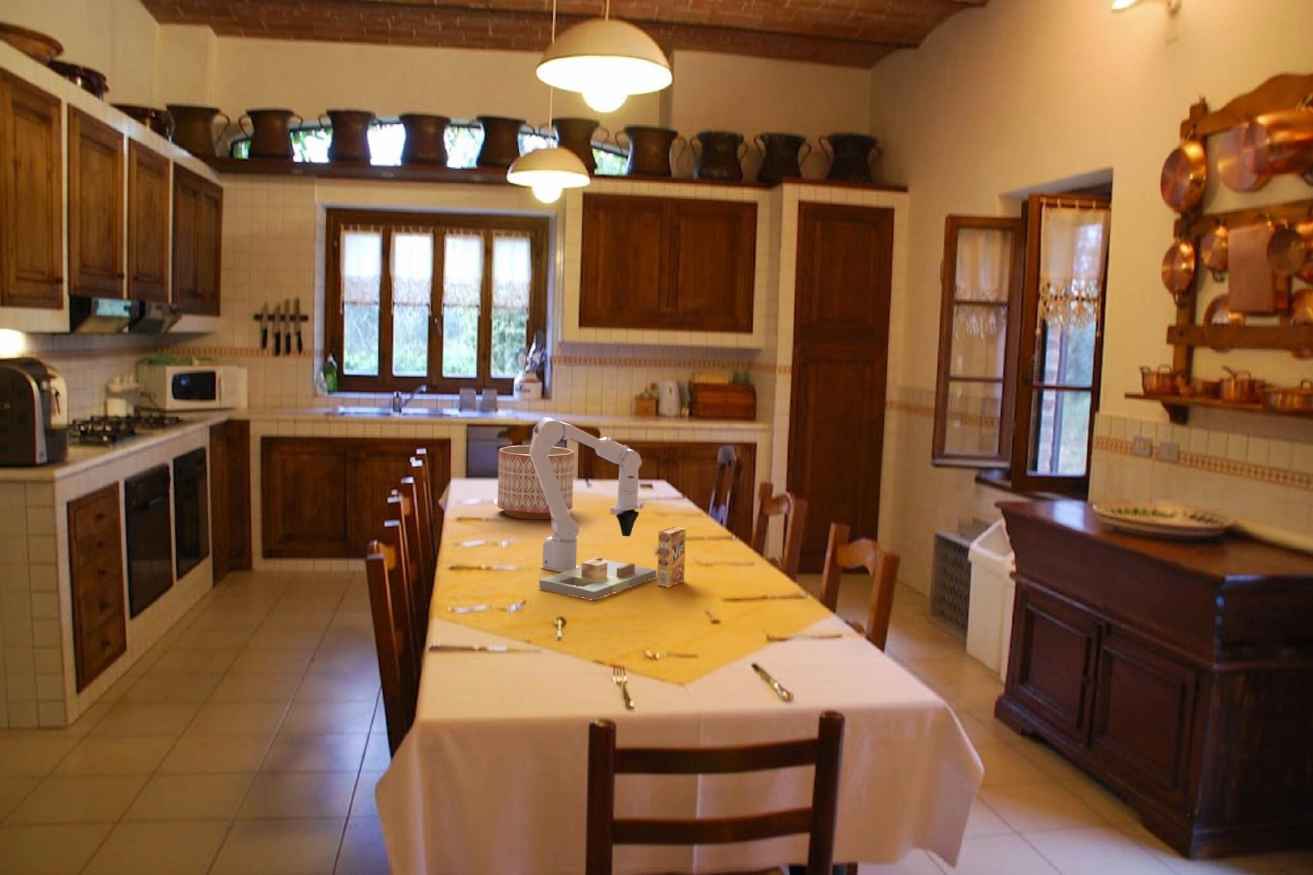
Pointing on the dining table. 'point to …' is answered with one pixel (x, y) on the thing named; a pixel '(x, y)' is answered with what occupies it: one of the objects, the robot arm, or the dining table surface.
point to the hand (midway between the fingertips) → (626, 535)
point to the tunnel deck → (615, 581)
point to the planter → (531, 481)
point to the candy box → (671, 556)
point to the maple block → (594, 569)
